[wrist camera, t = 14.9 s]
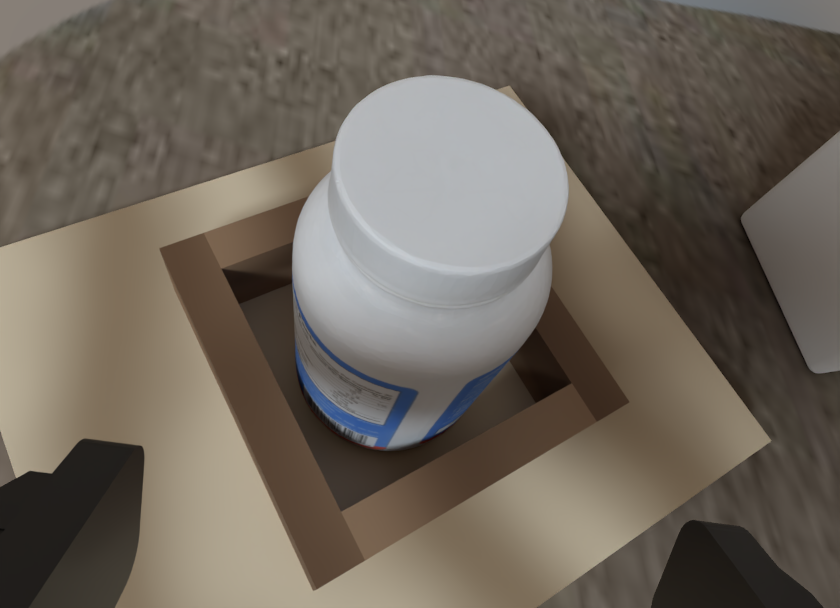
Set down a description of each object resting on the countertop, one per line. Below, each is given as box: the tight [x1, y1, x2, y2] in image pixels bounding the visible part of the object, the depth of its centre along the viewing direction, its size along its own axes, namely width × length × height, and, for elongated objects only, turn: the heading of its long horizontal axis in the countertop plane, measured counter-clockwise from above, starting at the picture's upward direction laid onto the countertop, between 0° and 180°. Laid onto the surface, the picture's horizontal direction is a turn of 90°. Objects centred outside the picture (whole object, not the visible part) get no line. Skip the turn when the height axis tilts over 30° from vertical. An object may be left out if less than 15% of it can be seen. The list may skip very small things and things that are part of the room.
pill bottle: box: [292, 75, 569, 451], centre depth 14 cm, size 6×5×10 cm
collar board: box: [0, 86, 771, 608], centre depth 18 cm, size 20×16×4 cm
